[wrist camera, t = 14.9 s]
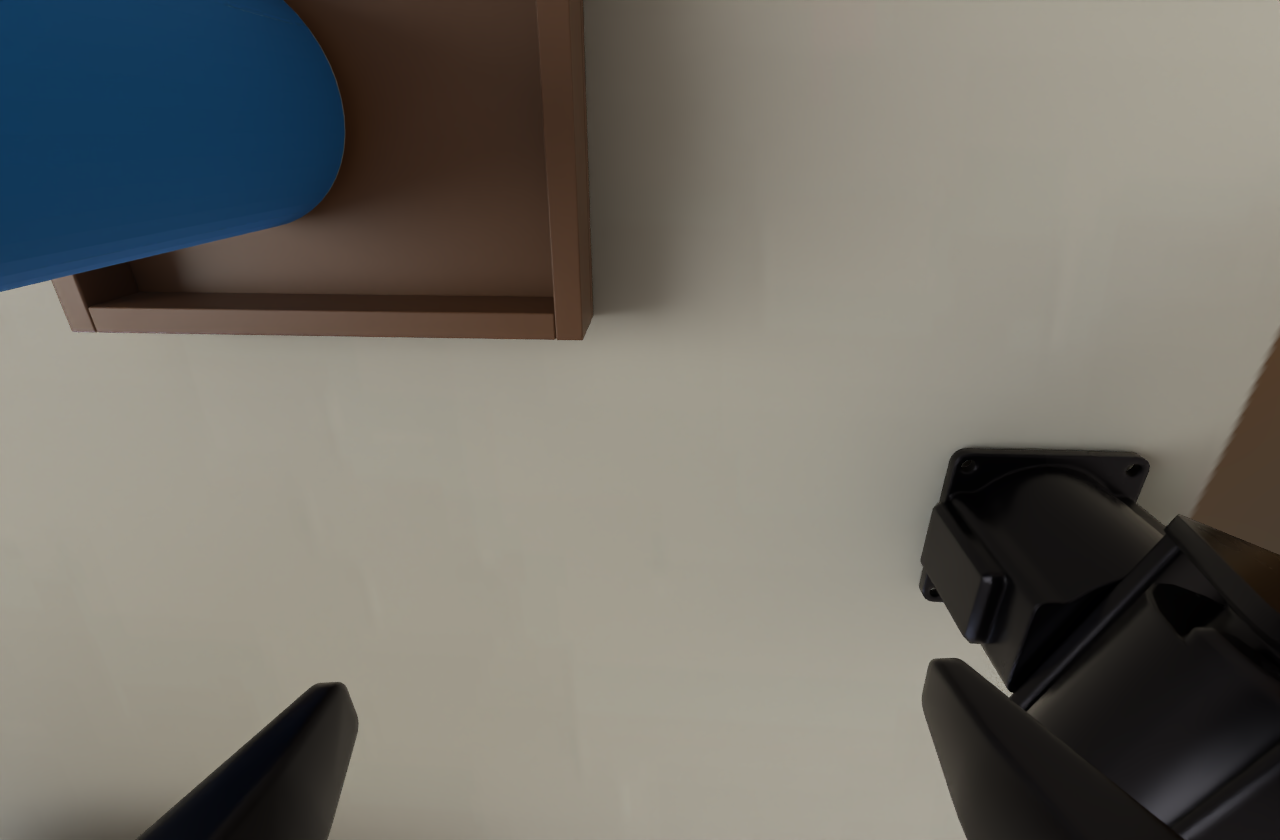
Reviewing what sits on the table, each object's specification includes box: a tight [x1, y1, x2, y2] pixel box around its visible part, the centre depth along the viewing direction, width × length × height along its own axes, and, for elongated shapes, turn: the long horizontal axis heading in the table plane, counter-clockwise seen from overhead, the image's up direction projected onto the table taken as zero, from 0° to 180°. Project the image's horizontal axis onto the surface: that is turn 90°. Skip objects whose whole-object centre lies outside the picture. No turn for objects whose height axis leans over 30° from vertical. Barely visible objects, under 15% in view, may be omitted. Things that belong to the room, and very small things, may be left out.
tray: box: [51, 0, 593, 340], centre depth 17 cm, size 16×12×3 cm
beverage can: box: [0, 0, 345, 292], centre depth 12 cm, size 6×6×12 cm
